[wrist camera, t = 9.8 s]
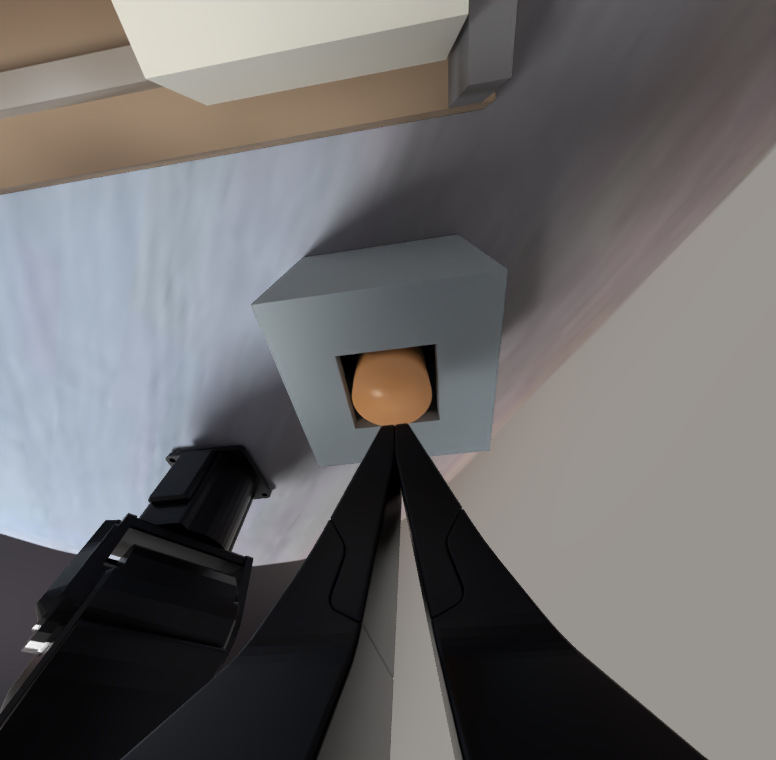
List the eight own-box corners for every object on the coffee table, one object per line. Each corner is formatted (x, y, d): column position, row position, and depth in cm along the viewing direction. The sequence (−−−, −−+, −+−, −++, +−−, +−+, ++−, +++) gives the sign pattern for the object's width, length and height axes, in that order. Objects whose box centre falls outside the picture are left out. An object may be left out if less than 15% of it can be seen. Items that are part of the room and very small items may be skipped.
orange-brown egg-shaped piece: (423, 373, 14) (433, 422, 11) (364, 380, 15) (359, 430, 12) (419, 317, 13) (429, 358, 10) (353, 326, 13) (343, 368, 10)
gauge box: (457, 368, 19) (489, 450, 13) (338, 382, 19) (319, 466, 14) (458, 234, 14) (508, 269, 8) (302, 257, 15) (250, 304, 9)
